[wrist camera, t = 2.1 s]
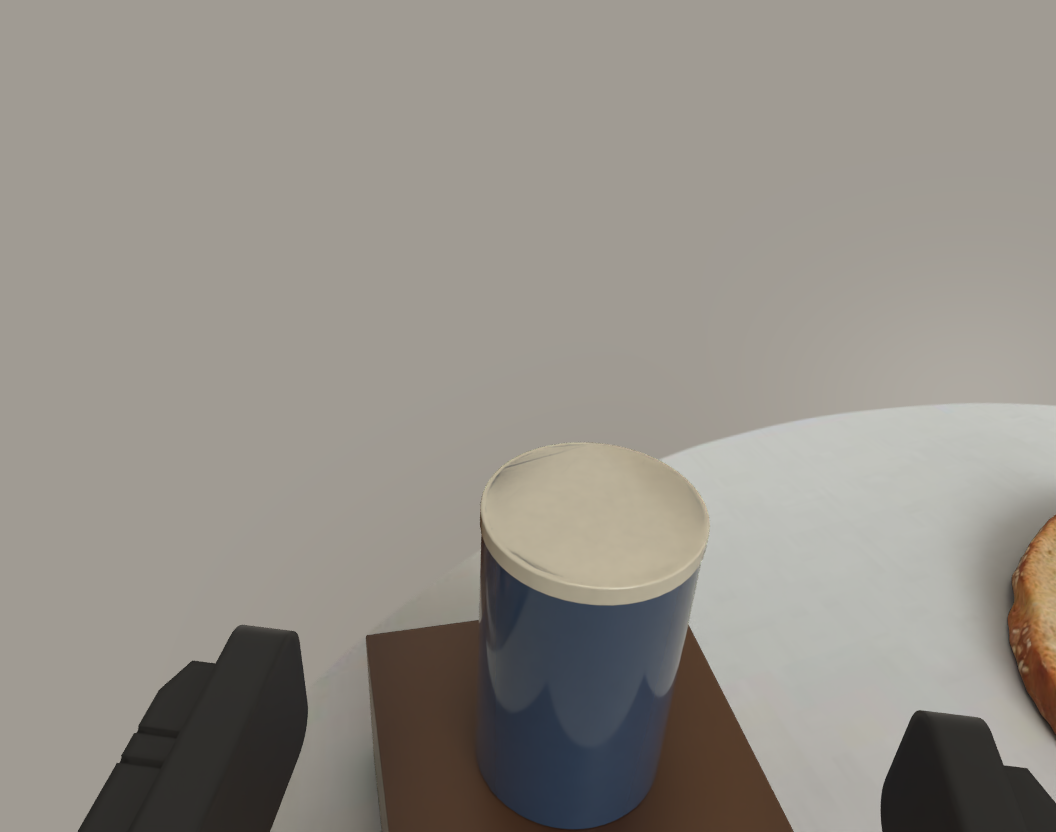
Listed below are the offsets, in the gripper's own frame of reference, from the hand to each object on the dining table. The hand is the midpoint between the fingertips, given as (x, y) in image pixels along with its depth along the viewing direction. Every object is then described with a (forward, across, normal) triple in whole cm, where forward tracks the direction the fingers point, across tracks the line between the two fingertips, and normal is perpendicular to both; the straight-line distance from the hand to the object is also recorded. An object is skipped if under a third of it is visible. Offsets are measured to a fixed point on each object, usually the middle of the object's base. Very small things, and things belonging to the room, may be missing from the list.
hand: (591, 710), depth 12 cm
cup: (+11, 0, +15) cm, 19 cm away
